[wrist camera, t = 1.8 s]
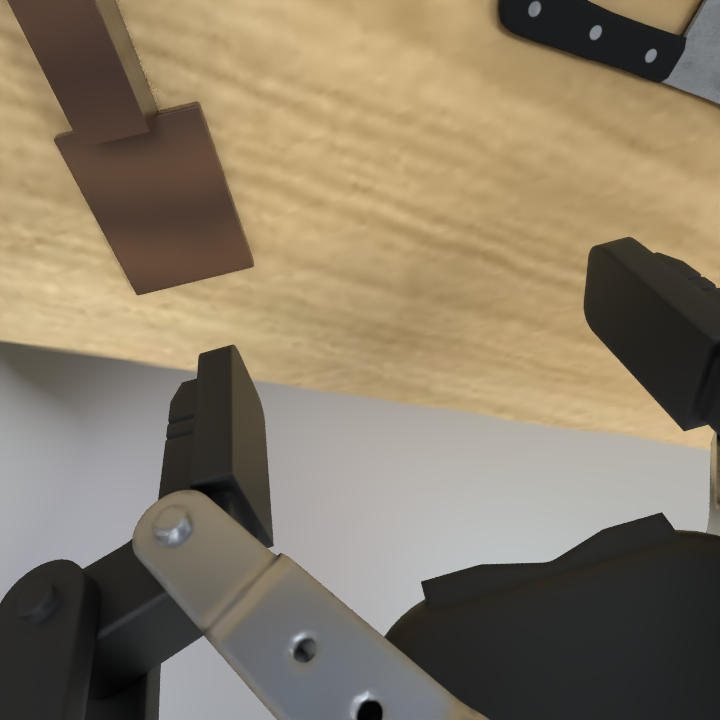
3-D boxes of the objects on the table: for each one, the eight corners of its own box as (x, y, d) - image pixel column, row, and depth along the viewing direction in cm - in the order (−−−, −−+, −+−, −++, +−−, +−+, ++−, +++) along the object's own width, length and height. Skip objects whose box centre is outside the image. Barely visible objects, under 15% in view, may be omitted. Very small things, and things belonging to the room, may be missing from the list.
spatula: (-215, -380, 16) (-309, -445, 13) (18, -426, 16) (-26, -499, 13) (138, 289, 31) (129, 323, 29) (253, 260, 32) (255, 292, 29)
